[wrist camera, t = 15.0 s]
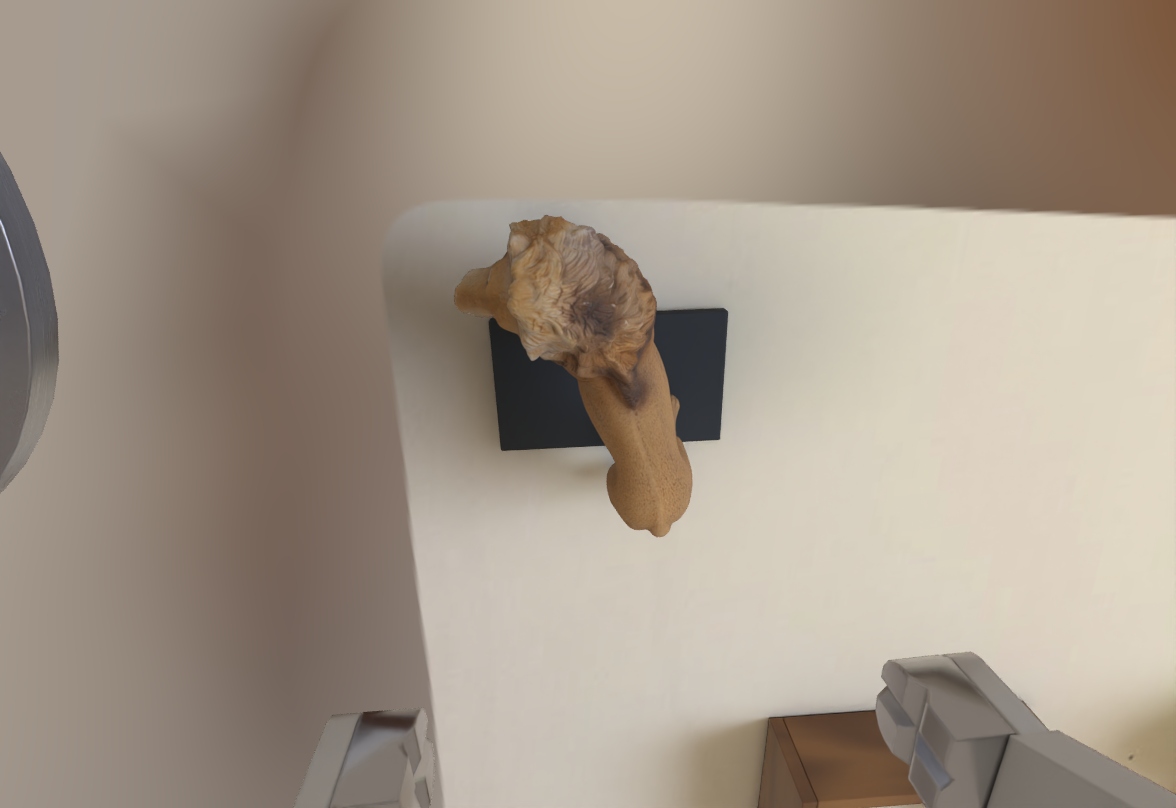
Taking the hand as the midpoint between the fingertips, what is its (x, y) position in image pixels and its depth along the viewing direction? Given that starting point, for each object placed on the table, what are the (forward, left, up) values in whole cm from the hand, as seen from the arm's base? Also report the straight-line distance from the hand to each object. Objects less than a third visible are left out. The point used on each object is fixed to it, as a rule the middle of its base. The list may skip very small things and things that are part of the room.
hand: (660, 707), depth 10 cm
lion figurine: (0, +1, -16) cm, 16 cm away
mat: (+1, 0, -17) cm, 17 cm away
